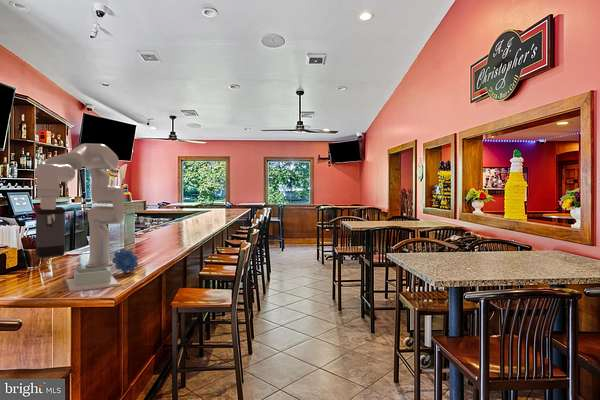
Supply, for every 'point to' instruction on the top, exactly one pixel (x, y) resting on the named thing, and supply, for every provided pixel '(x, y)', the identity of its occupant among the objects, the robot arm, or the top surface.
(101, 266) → the robot arm
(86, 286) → the dock
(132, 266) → the grapes
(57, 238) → the electronic device
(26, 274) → the top surface
